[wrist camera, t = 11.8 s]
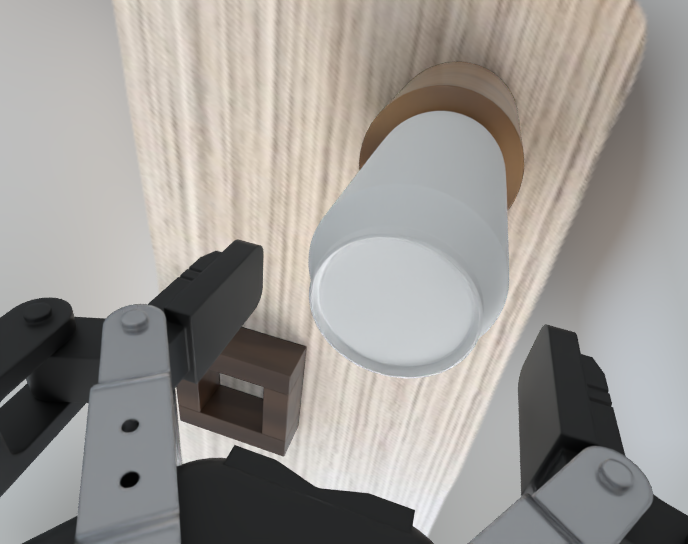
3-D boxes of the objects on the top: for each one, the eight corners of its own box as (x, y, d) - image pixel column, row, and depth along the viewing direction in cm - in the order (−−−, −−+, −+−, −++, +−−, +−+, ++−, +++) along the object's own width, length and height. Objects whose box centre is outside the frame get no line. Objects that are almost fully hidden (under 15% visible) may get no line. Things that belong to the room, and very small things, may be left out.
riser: (426, 36, 27) (402, 52, 20) (547, 100, 27) (562, 137, 20) (370, 155, 31) (335, 199, 25) (472, 209, 31) (465, 268, 25)
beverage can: (535, 157, 21) (566, 307, 11) (450, 249, 24) (416, 424, 15) (425, 77, 20) (355, 160, 11) (355, 183, 24) (255, 317, 14)
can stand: (194, 312, 45) (169, 338, 41) (306, 346, 43) (290, 376, 39) (200, 393, 51) (180, 420, 48) (298, 425, 49) (284, 457, 46)
